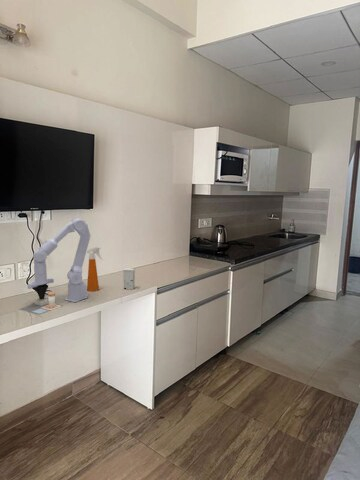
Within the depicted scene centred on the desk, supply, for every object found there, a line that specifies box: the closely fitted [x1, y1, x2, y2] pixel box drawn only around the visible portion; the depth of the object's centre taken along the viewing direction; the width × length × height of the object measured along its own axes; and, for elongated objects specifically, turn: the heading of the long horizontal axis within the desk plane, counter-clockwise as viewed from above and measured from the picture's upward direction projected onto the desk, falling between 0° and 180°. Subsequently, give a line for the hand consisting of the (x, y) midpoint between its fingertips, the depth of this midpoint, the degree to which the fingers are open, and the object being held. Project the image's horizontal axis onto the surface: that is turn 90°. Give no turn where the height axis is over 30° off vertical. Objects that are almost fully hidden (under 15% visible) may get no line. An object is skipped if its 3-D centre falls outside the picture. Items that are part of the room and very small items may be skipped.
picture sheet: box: [18, 303, 64, 315], centre depth 174 cm, size 15×15×1 cm
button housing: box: [34, 298, 48, 306], centre depth 179 cm, size 5×5×2 cm
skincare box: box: [122, 267, 136, 290], centre depth 208 cm, size 6×4×12 cm
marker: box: [47, 291, 56, 308], centre depth 174 cm, size 3×3×8 cm
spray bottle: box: [86, 246, 104, 292], centre depth 203 cm, size 7×11×26 cm, turn 71°
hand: (41, 298), depth 179 cm, fingers closed, pressing on done button
